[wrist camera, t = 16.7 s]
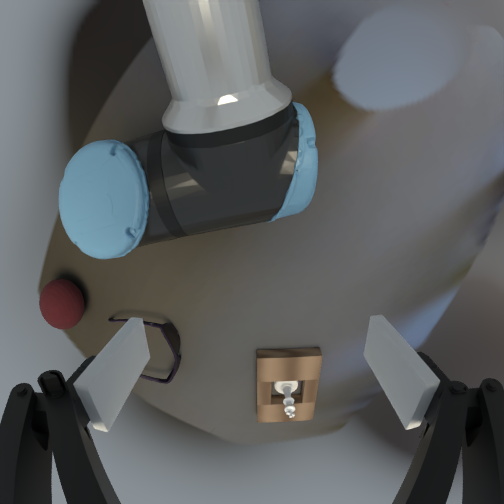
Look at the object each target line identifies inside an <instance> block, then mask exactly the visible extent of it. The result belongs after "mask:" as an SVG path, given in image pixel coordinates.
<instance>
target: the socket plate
mask: <svg viewBox="0 0 504 504" xmlns="http://www.w3.org/2000/svg"><path fill="white" fill-rule="evenodd" d="M321 362H322V353H321V351H320V348H319V347H316V348H298V349H269V350H257V422H285V421H301V420H312V418H313V413H314V407H315V401H316V395H317V389H318V383H319V376H320V369H321ZM301 380H302V386H301V394H294V395H291V398H293V399H294V403H293V406H294V407H295V411H294V412H292V413H294V414H295V416H294V417H292V418H290V417H289V415H288V414H286V412H285V410H284V409H285V406H286V405H285V404H284V403H283V400H284V399H285V395H271V384H272V382H281V381H301Z"/></svg>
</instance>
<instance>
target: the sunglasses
mask: <svg viewBox="0 0 504 504" xmlns="http://www.w3.org/2000/svg"><path fill="white" fill-rule="evenodd" d="M128 320H129V319H118V320H114V319H113V318H111V319H108V321H110V322H127V321H128ZM143 324H144V325H147V326H152V327H157V328H160V329H161V332H162V333H163V335H164V337H165V339H166V340H167V342H168V344H169V346H170V348H171V350H172V352H173V354H174V357H175V366H174V369H173V370H172V372H171V373H170V374H169V376H168V378H167V379H159V378H154V377H150V376H146V375H142V374H140V376H139V377H142V378H145V379H148V380H151V381H155V382H159V383H166V384H167V383H170V382H171V380H172V379H173V377H174V375H175V374H176V372H177V370H178V368H179V364H180V360H181V357H180V356H179V355H178V352H179V348H180V337H179V335H178V333H177V330H176V329H175V327H174V326H173V325H172V324H170V323H165V324H158V323H152V322H146V321H143Z"/></svg>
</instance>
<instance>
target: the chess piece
mask: <svg viewBox="0 0 504 504" xmlns="http://www.w3.org/2000/svg"><path fill="white" fill-rule="evenodd" d="M274 386H275V389H276V391H278V392H279V393H282V394H284V395H285V399H284V400H283V403H284V404H285V405H286V406H285V409H284V410H285V412H286V414H288V415H289V417H290V418H292V417H294V416H295V414H294V413H292V412H294V411H295V407H294V406H293V403H294V399H293V398H291V393H292V392H293V391H295V390H296V389H297V387H298V381H281V382H275V383H274Z"/></svg>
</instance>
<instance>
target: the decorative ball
mask: <svg viewBox="0 0 504 504" xmlns="http://www.w3.org/2000/svg"><path fill="white" fill-rule="evenodd" d="M39 305H40V310H41V313H42V315H43V317H44V319H45V320H46V321H47V322H48V323H49V324H50V325H51V326H53V327H55V328H58V329H69V328H72V327H74V326H75V325H77V324H78V322H79V321H80V320H81V318H82V316H83V313H84V299H83V295H82V293H81V291H80V290H79V288H78V287H77V286H76V285H75V284H74V283H72V282H71V281H68V280H65V279H56V280H53V281H51V282H49V283H48V284H47V285H46V286H45V287H44V288H43V290H42V292H41V295H40V301H39Z"/></svg>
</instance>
